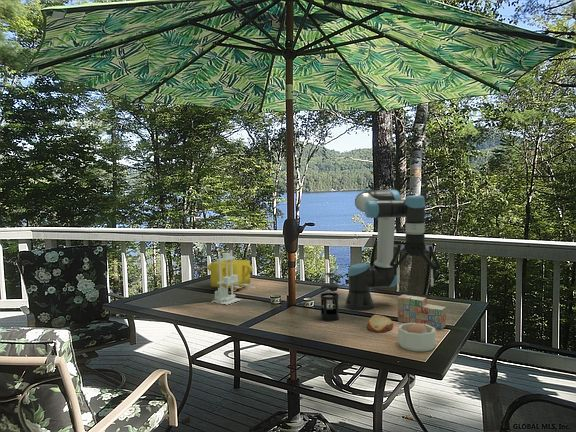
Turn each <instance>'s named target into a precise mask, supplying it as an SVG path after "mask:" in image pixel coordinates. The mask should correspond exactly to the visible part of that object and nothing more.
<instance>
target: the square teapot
mask: <svg viewBox="0 0 576 432" xmlns="http://www.w3.org/2000/svg"><path fill="white" fill-rule="evenodd" d="M250 262H251V260H249V259H248V260H247V259H235V257H234V258H233V259H232V268H233V275H238V282H235V283H237V284H233V290H235V289H236V290H237V288H235V287H234V286H239V287H242V286H244V285H240V284H248V285H249V284H251V273H252V271H253V266H252V265H251V263H250ZM206 269H207V270H208V271H209V272H210V273H209V275H210V287H215V288H217V289H218V288H220V284H217V282H219V261H212V262H210V263H209V264H208V265H207V266H206ZM227 272H228V277H230V275H231V262H230V260H227ZM223 277H226V261H221V281H223V280H224V279H223ZM230 285H231V284H230ZM222 286H223V287H225V288H227V286H226V284H221V287H222ZM244 287H245V286H244ZM228 289H230V290H231V286H228Z"/></svg>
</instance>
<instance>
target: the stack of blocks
mask: <svg viewBox="0 0 576 432" xmlns="http://www.w3.org/2000/svg"><path fill="white" fill-rule="evenodd" d="M427 301H428V299H427V297H423V296H415V295H408V294H401V295H399V296H397V322H399V323H403V324H406V323H420V324H427V325H429V326H431V327H434V328H435V330H443V329H444V328H446V326H447V325H446V324H447V323H446V318H447V317H446V316H447V315H446V314H447V311H446V310H447V307H446V306H443V305H442V306H441V305H435V304H429V303H428V302H427ZM442 328H443V329H442Z"/></svg>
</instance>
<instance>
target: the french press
mask: <svg viewBox="0 0 576 432" xmlns="http://www.w3.org/2000/svg"><path fill="white" fill-rule="evenodd" d="M324 275H326V276H327V277H328V283H322V284H320V287H321V291H322V290H323V289H328V292H323V293H321V294H320V301H321V303H320V304H321V311H320V320H322V321H324V322H336V321H338V320H340V316H339V314H340V311H339V293H337V292H336V291H338V287H339V284H337V283H332V282H331V281H330V280H331V276H332V275H334V273H332V272H326V273H324ZM330 300H331V301H332V302H331V301H330ZM327 301H328V303H327Z"/></svg>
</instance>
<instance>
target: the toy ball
mask: <svg viewBox="0 0 576 432" xmlns="http://www.w3.org/2000/svg"><path fill="white" fill-rule="evenodd" d="M408 332H410V333H418V334H423V333H427V331H426V327H425V326H424V325H422V324H419V323H416V324H413V325H411V326H410V328H409V330H408Z"/></svg>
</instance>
